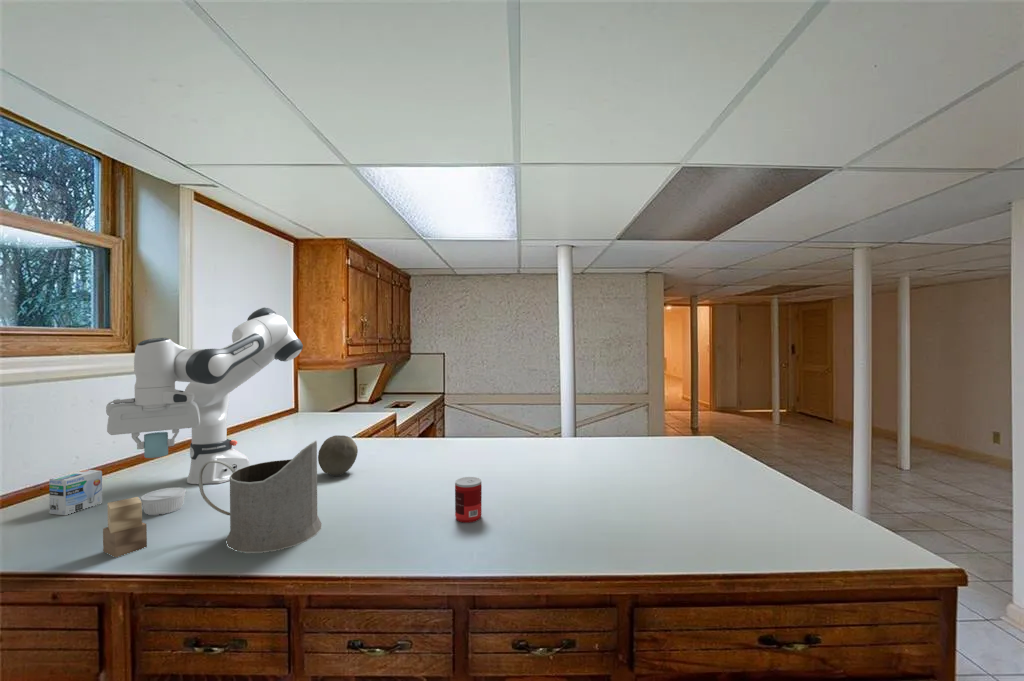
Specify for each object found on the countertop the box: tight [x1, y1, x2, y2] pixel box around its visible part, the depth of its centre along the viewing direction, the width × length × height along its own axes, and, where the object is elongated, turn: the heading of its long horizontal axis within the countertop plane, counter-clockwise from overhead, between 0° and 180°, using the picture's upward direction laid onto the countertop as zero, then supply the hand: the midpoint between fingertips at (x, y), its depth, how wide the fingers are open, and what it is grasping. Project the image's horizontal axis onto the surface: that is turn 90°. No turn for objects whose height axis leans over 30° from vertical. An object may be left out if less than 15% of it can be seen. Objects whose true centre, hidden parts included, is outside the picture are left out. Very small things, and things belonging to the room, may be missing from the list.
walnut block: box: [102, 521, 148, 558], centre depth 116 cm, size 6×6×6 cm
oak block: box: [106, 496, 143, 533], centre depth 116 cm, size 6×6×6 cm
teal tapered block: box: [143, 431, 169, 459], centre depth 127 cm, size 5×5×6 cm
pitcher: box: [198, 440, 323, 554], centre depth 126 cm, size 23×32×25 cm
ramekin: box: [140, 487, 187, 516], centre depth 143 cm, size 11×11×5 cm
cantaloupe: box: [317, 435, 359, 477], centre depth 179 cm, size 14×14×15 cm
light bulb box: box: [48, 469, 103, 516], centre depth 144 cm, size 11×7×11 cm, turn 168°
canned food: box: [454, 476, 483, 524], centre depth 136 cm, size 8×8×11 cm
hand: (156, 447), depth 127 cm, fingers closed on teal tapered block, 5 cm apart
